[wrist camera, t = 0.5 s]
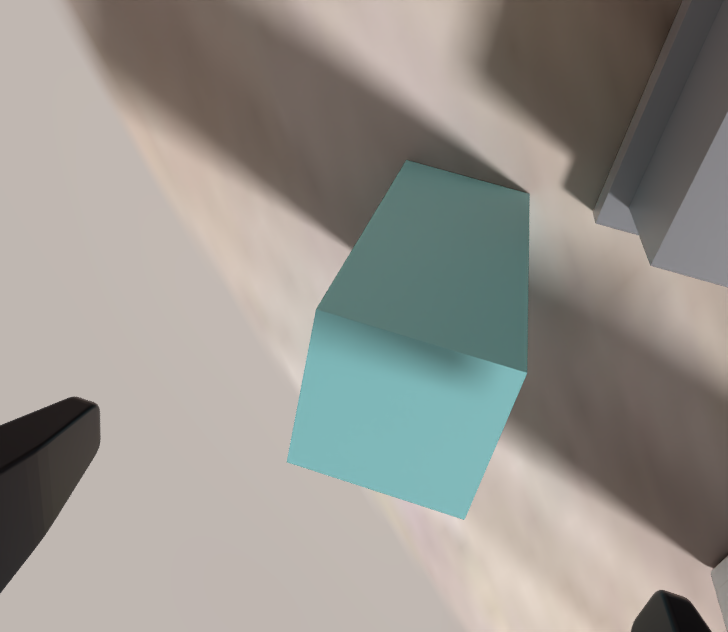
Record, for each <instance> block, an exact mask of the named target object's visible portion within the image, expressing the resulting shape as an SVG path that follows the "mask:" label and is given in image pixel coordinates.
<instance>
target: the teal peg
mask: <svg viewBox="0 0 728 632" xmlns="http://www.w3.org/2000/svg"><path fill="white" fill-rule="evenodd" d="M529 196H530V194H528V193H525V192H521V191H517V190H514V189H510V188H507V187H503V186H499V185H496V184H492V183H488V182H485V181H481V180H478V179H474V178H470V177H467V176H463V175H459V174H456V173H452V172H449V171H445V170H441V169H438V168H434V167H430V166H427V165H423V164H420V163H416V162H412V161H409V160H406V162H405V163H404V165H403V167H402V168H401V170H400V171H399V173H398V175H397V176H396V178H395V180H394V181H393V183H392V185H391V186H390V188H389V190H388V191H387V193H386V195H385V196H384V198H383V200H382V201H381V203H380V205H379V206H378V208H377V210H376V211H375V213H374V214H373V216H372V218H371V219H370V221H369V223H368V224H367V226H366V228H365V229H364V231H363V233H362V234H361V236H360V238H359V239H358V241H357V243H356V244H355V246H354V248H353V249H352V251H351V253H350V254H349V256H348V257H347V259H346V261H345V262H344V264H343V266H342V267H341V269H340V271H339V272H338V274H337V276H336V277H335V279H334V281H333V282H332V284H331V286H330V287H329V289H328V291H327V292H326V294H325V296H324V297H323V299H322V300H321V302H320V304H319V305H318V307H317V309H316V313H315V318H314V323H313V328H312V334H311V339H310V344H309V349H308V354H307V360H306V365H305V370H304V375H303V380H302V386H301V391H300V396H299V401H298V406H297V411H296V417H295V422H294V427H293V432H292V438H291V443H290V448H289V454H288V458H287V462H288V463H292V464H294V465H297V466H301V467H303V468H307V469H310V470H313V471H316V472H319V473H322V474H325V475H328V476H331V477H334V478H337V479H341V480H343V481H347V482H350V483H353V484H356V485H359V486H362V487H365V488H368V489H371V490H374V491H377V492H380V493H383V494H387V495H390V496H393V497H396V498H399V499H402V500H405V501H408V502H411V503H414V504H417V505H420V506H423V507H427V508H430V509H433V510H436V511H439V512H442V513H445V514H448V515H451V516H454V517H457V518H460V519H463V520H464V519H465V517H466V515H467V512H468V510H469V508H470V505H471V503H472V501H473V498H474V496H475V494H476V491H477V489H478V487H479V484H480V482H481V480H482V477H483V475H484V473H485V470H486V468H487V466H488V463H489V461H490V459H491V456H492V454H493V452H494V449H495V447H496V445H497V442H498V440H499V438H500V435H501V433H502V431H503V428H504V426H505V424H506V421H507V419H508V417H509V414H510V412H511V410H512V407H513V405H514V403H515V400H516V398H517V396H518V393H519V391H520V389H521V386H522V384H523V382H524V379H525V377H526V375H527V352H528V274H529Z"/></svg>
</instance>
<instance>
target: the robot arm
mask: <svg viewBox="0 0 728 632" xmlns="http://www.w3.org/2000/svg"><path fill="white" fill-rule="evenodd" d="M99 445H100V409H99V407H98V405H97V404H96V403H94V402H91V401H88V400H85V399H82V398H79V397H70V398H67V399H65V400H62V401H59V402H57V403H55V404H52V405H50V406H47V407H45V408H42V409H40V410H37V411H35V412H32V413H30V414H27V415H25V416H22V417H20V418H17V419H15V420H13V421H10V422H7V423H5V424H2V425H0V593H1V592H2V590H3V589H4V588H5V587H6V585H7V584H8V583H9V582H10V580H11V579H12V578H13V576H14V575H15V574H16V572H17V571H18V570H19V569H20V567H21V566H22V565H23V564H24V562H25V561H26V560H27V558H28V557H29V556H30V555H31V553H32V552H33V551H34V549H35V548H36V547H37V545H38V544H39V543H40V541H41V540H42V539H43V537H44V536H45V535H46V533H47V532H48V530H49V528H50V527H51V526H52V524H53V522H54V521H55V519H56V518H57V516H58V515H59V513H60V511H61V510H62V508H63V506H64V505H65V503H66V502H67V500H68V498H69V497H70V495H71V493H72V492H73V490H74V489H75V487H76V486H77V484H78V482H79V481H80V479H81V478H82V476H83V474H84V473H85V471H86V469H87V468H88V466H89V465H90V463H91V461H92V460H93V458H94V456H95V455H96V453H97V451H98V448H99ZM631 632H711V630H710V629H709V627H708V626H707V624H706V623H705V621H704V620H703V619H702V617H701V616H700V614H699V613H698V611H697V610H696V608H695V607H694V606H693V604H692V603H691V602H690V601H689V600H688V599H687V598H685V597H683V596H680V595H677V594H674V593H671V592H668V591H665V590H659V591H657V592H655V593H654V594H653V596H652V597H651V598H650V600H649V601H648V602H647V604H646V605H645V607H644V608H643V609H642V611H641V612H640V613H639V615H638V616H637V617H636V619H635V621H634V623H633V626H632V629H631Z"/></svg>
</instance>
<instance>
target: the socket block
mask: <svg viewBox="0 0 728 632" xmlns="http://www.w3.org/2000/svg"><path fill="white" fill-rule="evenodd" d="M593 215H594V219H595V223H596V224H600V225H603V226H607V227H611V228H614V229H618V230H622V231H625V232H629V233H632V234H636V235H639V236H640V239H641V242H642V244H643V247H644V250H645V252H646V255H647V258H648V260H649V263H650V266H653V267H657V268H661V269H664V270H668V271H671V272H675V273H678V274H682V275H685V276H689V277H693V278H696V279H700V280H703V281H707V282H710V283H714V284H717V285H721V286H725V287H728V0H682V3H681V5H680V7H679V10H678V12H677V14H676V17H675V19H674V22H673V24H672V26H671V29H670V31H669V33H668V36H667V38H666V40H665V43H664V45H663V47H662V50H661V52H660V54H659V57H658V59H657V62H656V64H655V66H654V69H653V71H652V73H651V76H650V78H649V80H648V83H647V85H646V87H645V90H644V92H643V95H642V97H641V99H640V102H639V104H638V106H637V109H636V111H635V113H634V116H633V118H632V120H631V123H630V125H629V127H628V130H627V132H626V135H625V137H624V139H623V142H622V144H621V146H620V149H619V151H618V153H617V156H616V158H615V160H614V163H613V165H612V168H611V170H610V172H609V175H608V177H607V179H606V182H605V184H604V186H603V189H602V191H601V193H600V196H599V198H598V200H597V203H596V205H595V208H594V210H593Z"/></svg>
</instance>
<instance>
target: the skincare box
mask: <svg viewBox="0 0 728 632" xmlns="http://www.w3.org/2000/svg"><path fill="white" fill-rule="evenodd" d="M711 577H712V581H713V584H714V587H715V591H716V594H717V598H718V602H719V605H720V608H721V612H722V615H723V619H724V623H725V626H726V630H727V632H728V556H727V557H726V558H725V559H724V560H723V561H722V562H721V563H719V564H718V565H717V566H716V567H715V568H714V569H713V570H712V571H711Z"/></svg>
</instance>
